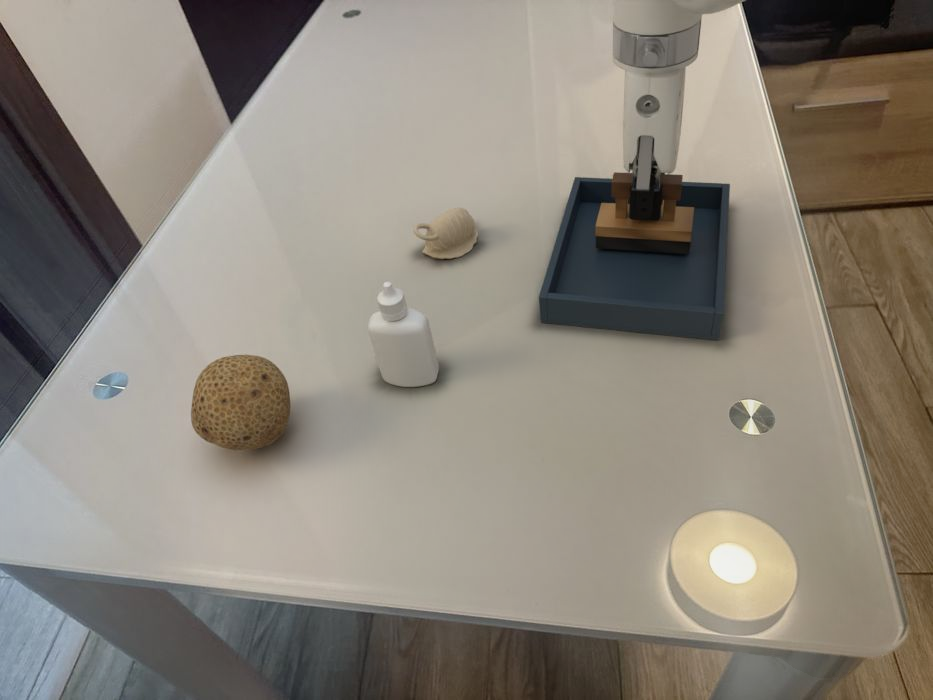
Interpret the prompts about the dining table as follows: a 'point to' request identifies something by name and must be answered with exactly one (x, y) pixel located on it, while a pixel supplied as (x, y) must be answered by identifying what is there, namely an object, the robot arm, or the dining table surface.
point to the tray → (638, 270)
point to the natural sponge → (240, 403)
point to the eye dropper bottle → (402, 341)
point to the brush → (643, 234)
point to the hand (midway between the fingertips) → (645, 210)
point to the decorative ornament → (449, 234)
